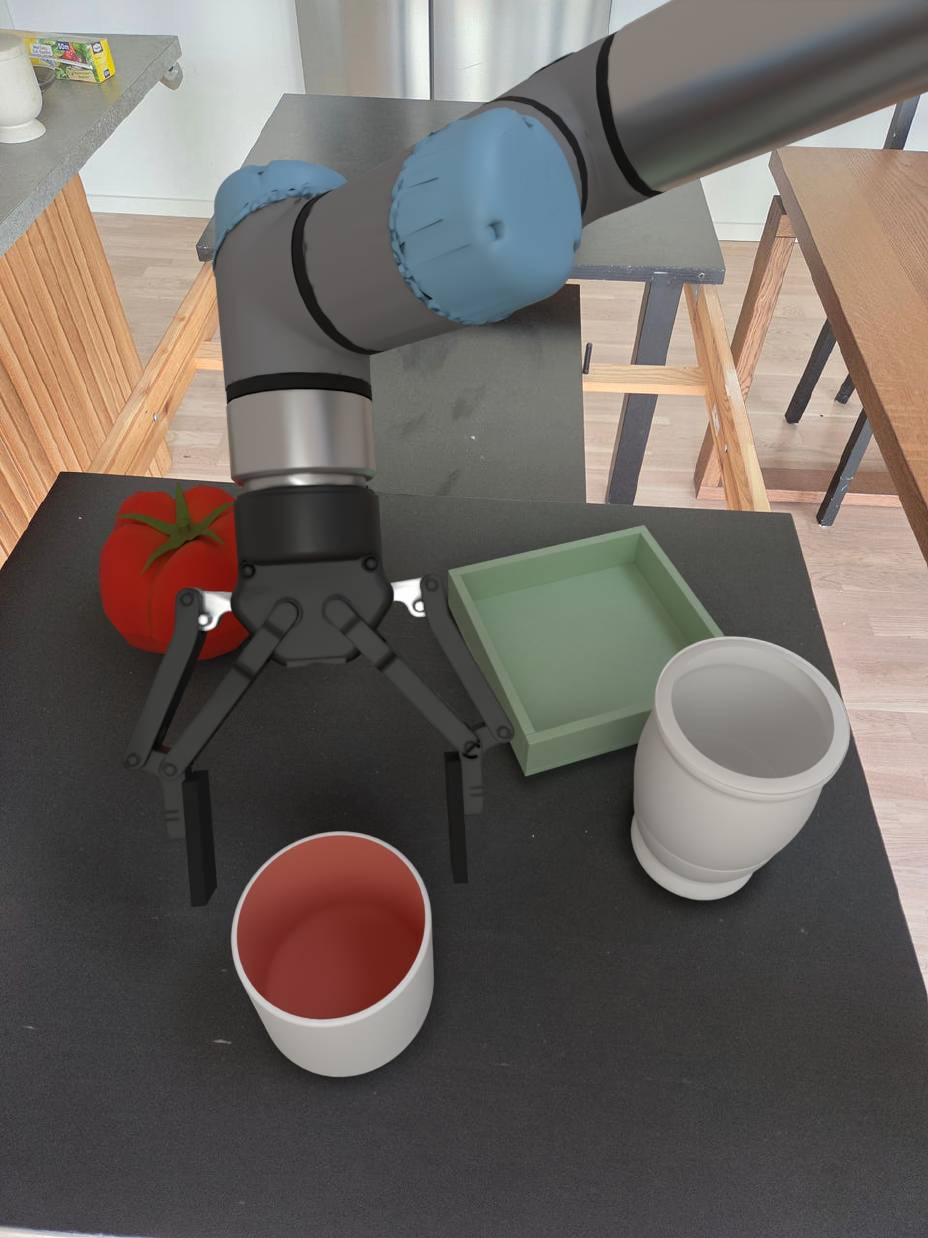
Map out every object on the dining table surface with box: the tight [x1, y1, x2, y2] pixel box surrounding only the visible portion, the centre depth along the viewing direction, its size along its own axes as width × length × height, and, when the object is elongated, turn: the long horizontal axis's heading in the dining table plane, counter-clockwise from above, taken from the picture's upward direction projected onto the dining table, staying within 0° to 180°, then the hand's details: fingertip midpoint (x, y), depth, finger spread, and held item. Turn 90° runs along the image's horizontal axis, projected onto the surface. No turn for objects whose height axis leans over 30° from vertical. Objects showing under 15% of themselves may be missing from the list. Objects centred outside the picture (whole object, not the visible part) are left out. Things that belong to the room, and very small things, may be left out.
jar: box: [630, 636, 851, 901], centre depth 51 cm, size 11×10×15 cm
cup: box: [230, 830, 435, 1078], centre depth 46 cm, size 10×10×10 cm
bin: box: [447, 524, 726, 777], centre depth 66 cm, size 18×18×4 cm
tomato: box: [98, 480, 251, 661], centre depth 65 cm, size 13×14×12 cm
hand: (333, 886), depth 45 cm, fingers open, 13 cm apart
